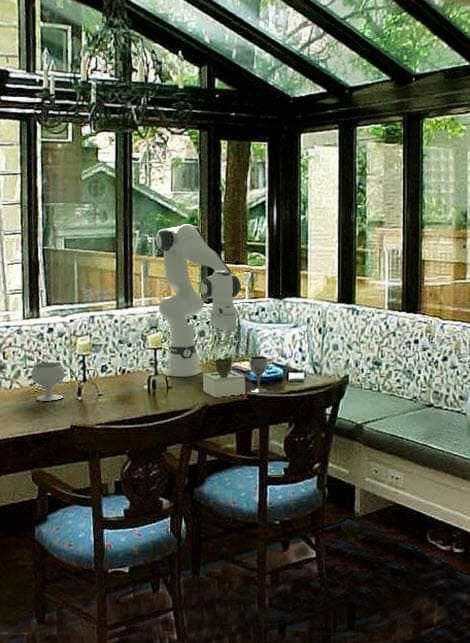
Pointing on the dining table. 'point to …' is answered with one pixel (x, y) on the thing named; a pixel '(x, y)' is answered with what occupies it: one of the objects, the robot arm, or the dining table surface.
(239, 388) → the open grey box
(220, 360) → the cup
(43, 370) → the chalice
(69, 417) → the dining table surface
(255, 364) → the wine glass
